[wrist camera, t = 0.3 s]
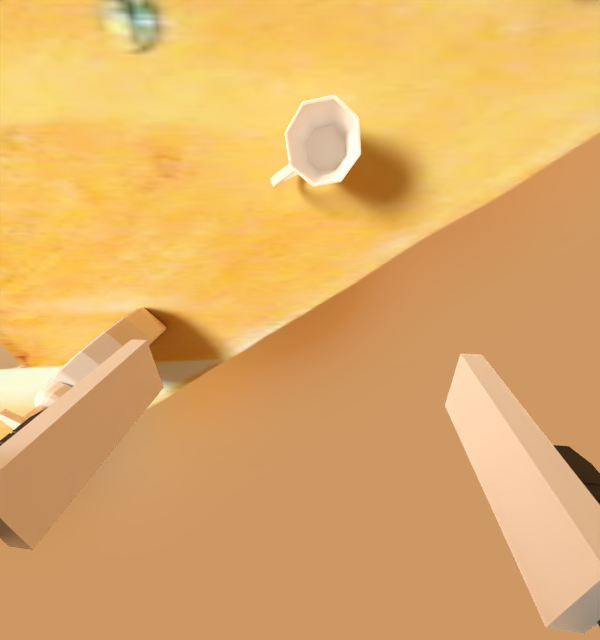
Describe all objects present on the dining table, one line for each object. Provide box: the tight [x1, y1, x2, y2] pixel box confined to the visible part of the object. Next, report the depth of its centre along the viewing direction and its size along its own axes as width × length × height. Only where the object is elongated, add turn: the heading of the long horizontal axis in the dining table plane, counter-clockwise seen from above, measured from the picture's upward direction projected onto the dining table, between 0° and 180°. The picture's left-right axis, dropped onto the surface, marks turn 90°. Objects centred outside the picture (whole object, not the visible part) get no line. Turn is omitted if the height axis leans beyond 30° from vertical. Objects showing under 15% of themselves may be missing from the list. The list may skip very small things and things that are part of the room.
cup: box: [270, 94, 361, 187], centre depth 28 cm, size 7×10×8 cm
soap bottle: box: [0, 308, 167, 429], centre depth 39 cm, size 16×5×20 cm, turn 132°
